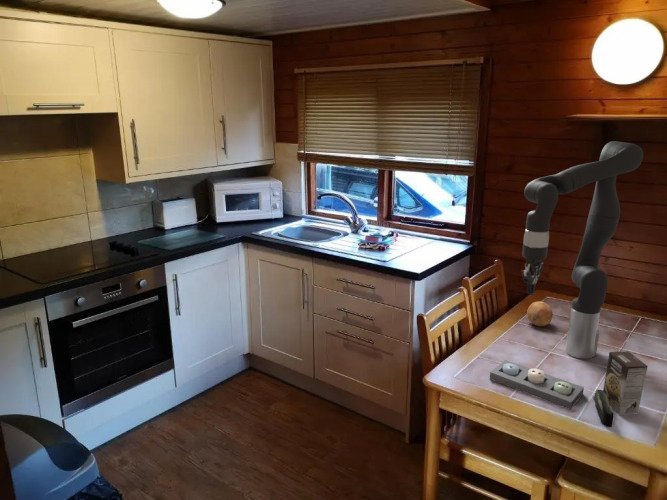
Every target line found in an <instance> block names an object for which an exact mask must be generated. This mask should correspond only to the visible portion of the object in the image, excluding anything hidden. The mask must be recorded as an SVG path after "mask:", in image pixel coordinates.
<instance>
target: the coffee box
mask: <svg viewBox="0 0 667 500" xmlns="http://www.w3.org/2000/svg"><path fill="white" fill-rule="evenodd" d="M605 371H606V372H605V377H604V383H603V389H602V390H603V391H604V392H605V393H606V395H607V398H608V403H609V405H610V408H611V409H612V410H613V411H614V412H615V413H616V414H618V415H619V416H624V415H637V414H639V411H640V405H641V400H642V395H643V390H644V387H645V386H644V385H645V381H646V376H647V371H648V365H647V364H646V363H644V362H643V361H641V360H640V359H639V358H638V357H637V356H635V355H634V354H633V353H631V352H630V351H628V350H626V351H619V350H617V351H609V353H608V360H607V365H606V370H605Z"/></svg>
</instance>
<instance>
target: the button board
mask: <svg viewBox="0 0 667 500" xmlns="http://www.w3.org/2000/svg"><path fill="white" fill-rule="evenodd" d="M507 363H511V364H515V365H517V366H518V367H519V372H518V375H517V376H516V377H514V376H511V375H508V374H506V373H503V372H502V371H503V365H504V364H507ZM530 369H531V368H530V367H526V366H524V365H521V364H518V363H515V362H513V361H510V360H508V359H504V360H503V361H502V362H501V363H499V364H498V365H497V366H495V367H494V369H492V370H491V371H490V372H489V373H490V374H489V380H491V381H495V382H497V383H500V384H502V385H504V386H506V387H510V388H513V389H516V390H517V391H520V392H523V393H525V394H528V395H531V396H534V397H537V398H539V399H542V400H544V401H546V402H549V403H552V404H555V405H557V406H559V407H562V408H566V409H567V410H571V409H572V408H573V406H575V404H577V402H578V401H579V400H580V399H581V397H582V396H583V395H584V390H585V386H581V385H579V384H575V383H572V382H569V381H568V380H565V379H561V378H559V377H556V376H553V375H550V374H547V373H545V378H544V383H543V384H542V385H536V384H533V383H530V382H528V380H527V378H528V370H530ZM558 381H562V382H566V383H568V384H570V385H571V386H572V391H571V395H570V396H566V395H563V394H560V393H558V392H555V391H554V384H555V382H558Z"/></svg>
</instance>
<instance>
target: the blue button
mask: <svg viewBox="0 0 667 500" xmlns="http://www.w3.org/2000/svg"><path fill="white" fill-rule="evenodd" d="M502 372H503V373H506V374H508V375H511V376H514V377H516V376H517V375H518V372H519V367H518V366H517V365H515V364H511V363H507V364H504V365H503V371H502Z"/></svg>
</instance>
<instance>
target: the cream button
mask: <svg viewBox="0 0 667 500" xmlns="http://www.w3.org/2000/svg"><path fill="white" fill-rule="evenodd" d="M545 374H546V373H545V371H544V370H542V369H539V368H530V370H528V378H527V380H528V382H530V383H533V384H536V385H539V386H542V385H543V383H544V378H545Z"/></svg>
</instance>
